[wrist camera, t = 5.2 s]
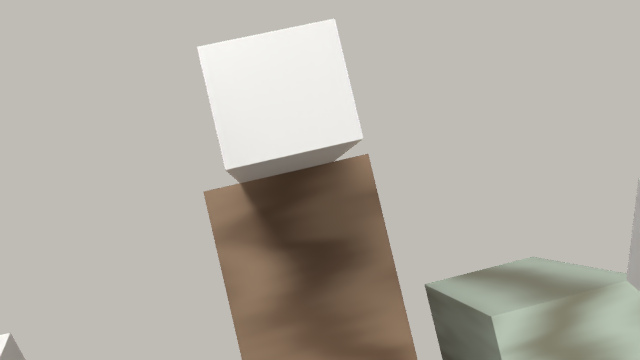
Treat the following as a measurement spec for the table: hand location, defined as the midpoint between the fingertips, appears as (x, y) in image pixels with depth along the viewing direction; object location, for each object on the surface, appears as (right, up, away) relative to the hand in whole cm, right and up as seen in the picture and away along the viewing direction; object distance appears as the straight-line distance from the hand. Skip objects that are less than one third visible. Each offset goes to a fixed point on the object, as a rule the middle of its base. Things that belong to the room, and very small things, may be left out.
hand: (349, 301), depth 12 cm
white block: (-2, +3, +19) cm, 19 cm away
